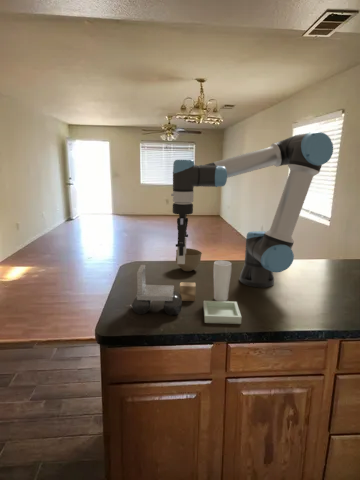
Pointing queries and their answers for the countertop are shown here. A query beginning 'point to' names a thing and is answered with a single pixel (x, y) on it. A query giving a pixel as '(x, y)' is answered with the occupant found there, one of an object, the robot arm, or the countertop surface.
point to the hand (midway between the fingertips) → (181, 258)
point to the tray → (221, 312)
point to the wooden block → (187, 291)
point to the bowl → (190, 259)
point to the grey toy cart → (155, 296)
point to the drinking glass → (221, 279)
